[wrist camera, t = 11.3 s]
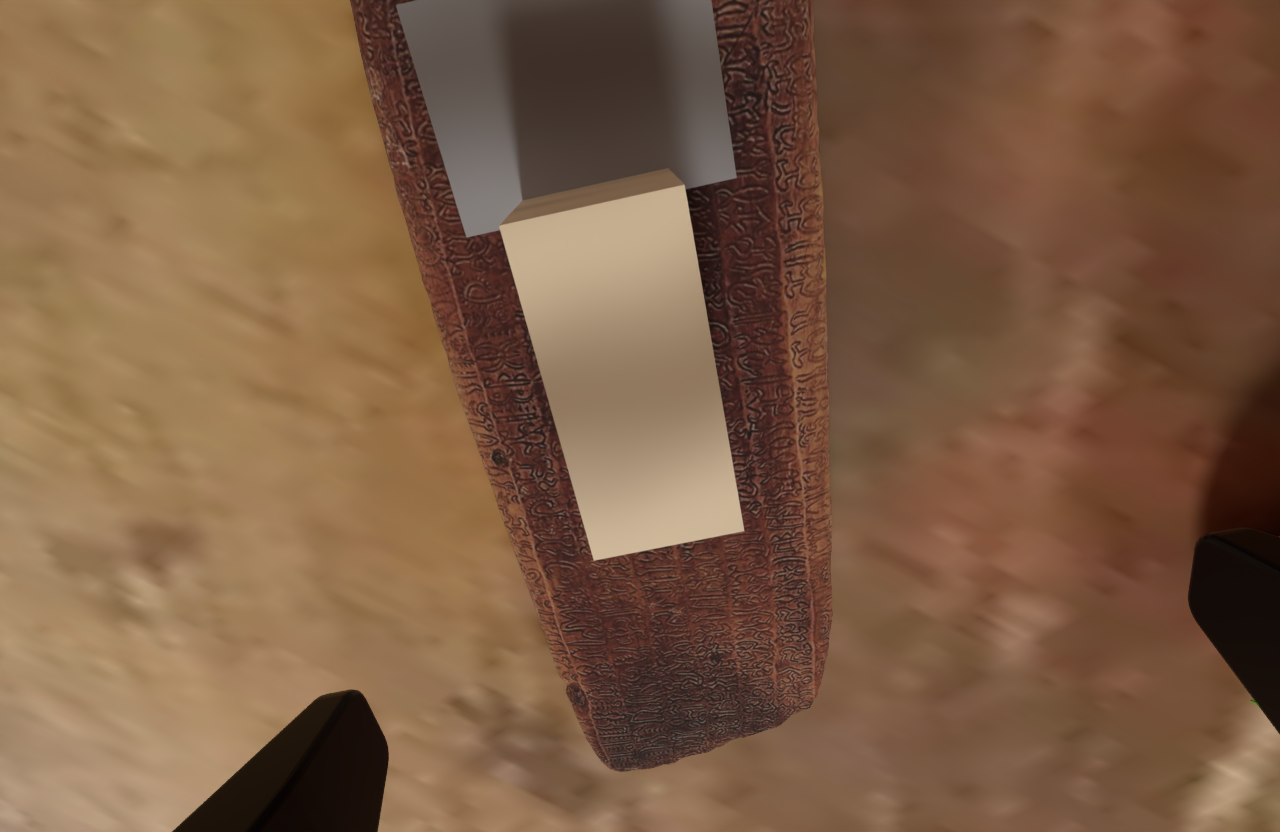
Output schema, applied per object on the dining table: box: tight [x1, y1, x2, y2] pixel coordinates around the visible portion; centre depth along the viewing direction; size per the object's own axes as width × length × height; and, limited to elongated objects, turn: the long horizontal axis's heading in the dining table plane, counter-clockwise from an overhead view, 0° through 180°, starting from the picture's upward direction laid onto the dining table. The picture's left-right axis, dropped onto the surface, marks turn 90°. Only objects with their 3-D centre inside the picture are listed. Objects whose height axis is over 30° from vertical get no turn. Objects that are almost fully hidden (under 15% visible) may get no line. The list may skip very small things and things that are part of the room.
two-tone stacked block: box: [396, 0, 744, 561], centre depth 14 cm, size 11×6×4 cm, turn 11°
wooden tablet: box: [350, 0, 833, 772], centre depth 19 cm, size 26×2×10 cm
